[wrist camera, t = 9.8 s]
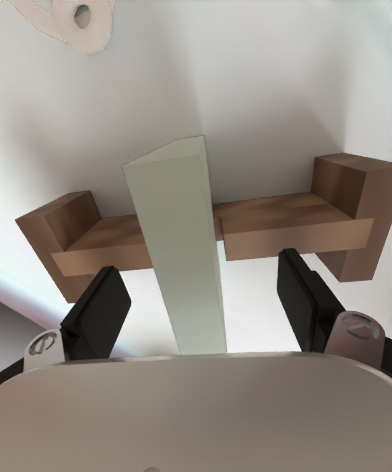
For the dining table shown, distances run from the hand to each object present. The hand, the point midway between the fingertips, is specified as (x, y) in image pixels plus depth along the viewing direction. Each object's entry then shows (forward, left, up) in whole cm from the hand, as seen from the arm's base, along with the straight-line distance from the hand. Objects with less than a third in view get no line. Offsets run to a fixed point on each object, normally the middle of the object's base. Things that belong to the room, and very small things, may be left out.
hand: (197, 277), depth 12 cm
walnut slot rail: (0, 0, -9) cm, 9 cm away
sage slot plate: (0, 0, -9) cm, 9 cm away
